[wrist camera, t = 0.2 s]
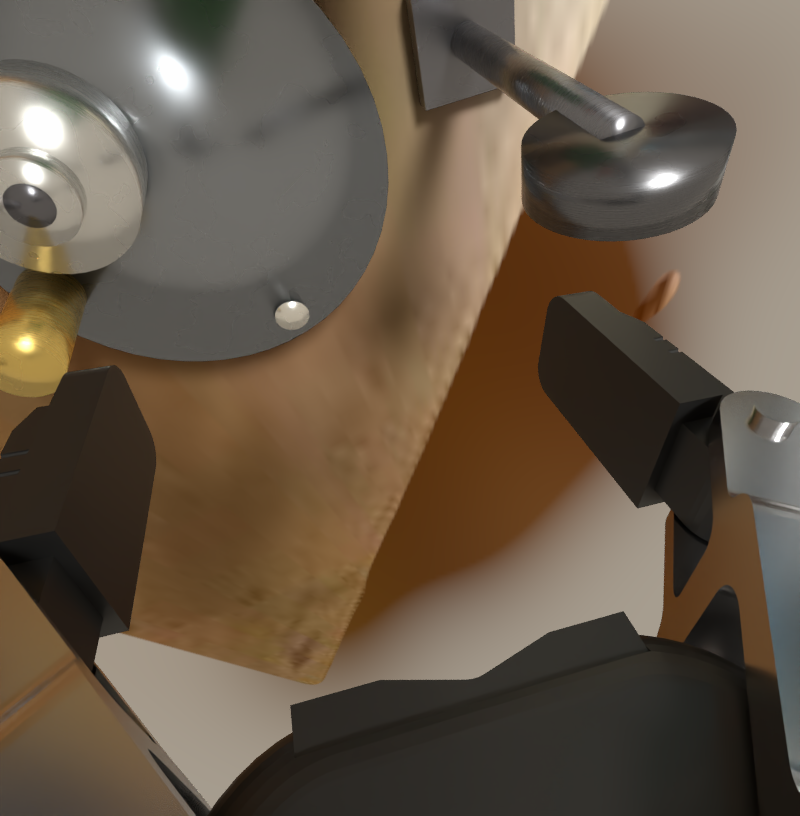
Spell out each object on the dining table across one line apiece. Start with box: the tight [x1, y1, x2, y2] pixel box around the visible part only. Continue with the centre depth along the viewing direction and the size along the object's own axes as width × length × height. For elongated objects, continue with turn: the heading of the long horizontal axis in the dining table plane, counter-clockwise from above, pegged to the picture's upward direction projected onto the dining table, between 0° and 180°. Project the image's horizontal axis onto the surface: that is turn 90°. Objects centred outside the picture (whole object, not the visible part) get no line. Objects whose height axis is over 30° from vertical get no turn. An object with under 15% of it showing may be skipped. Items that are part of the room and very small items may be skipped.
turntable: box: [0, 0, 388, 397], centre depth 23 cm, size 20×20×8 cm
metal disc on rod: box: [406, 0, 736, 241], centre depth 20 cm, size 5×6×18 cm
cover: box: [0, 59, 148, 274], centre depth 20 cm, size 7×7×5 cm
